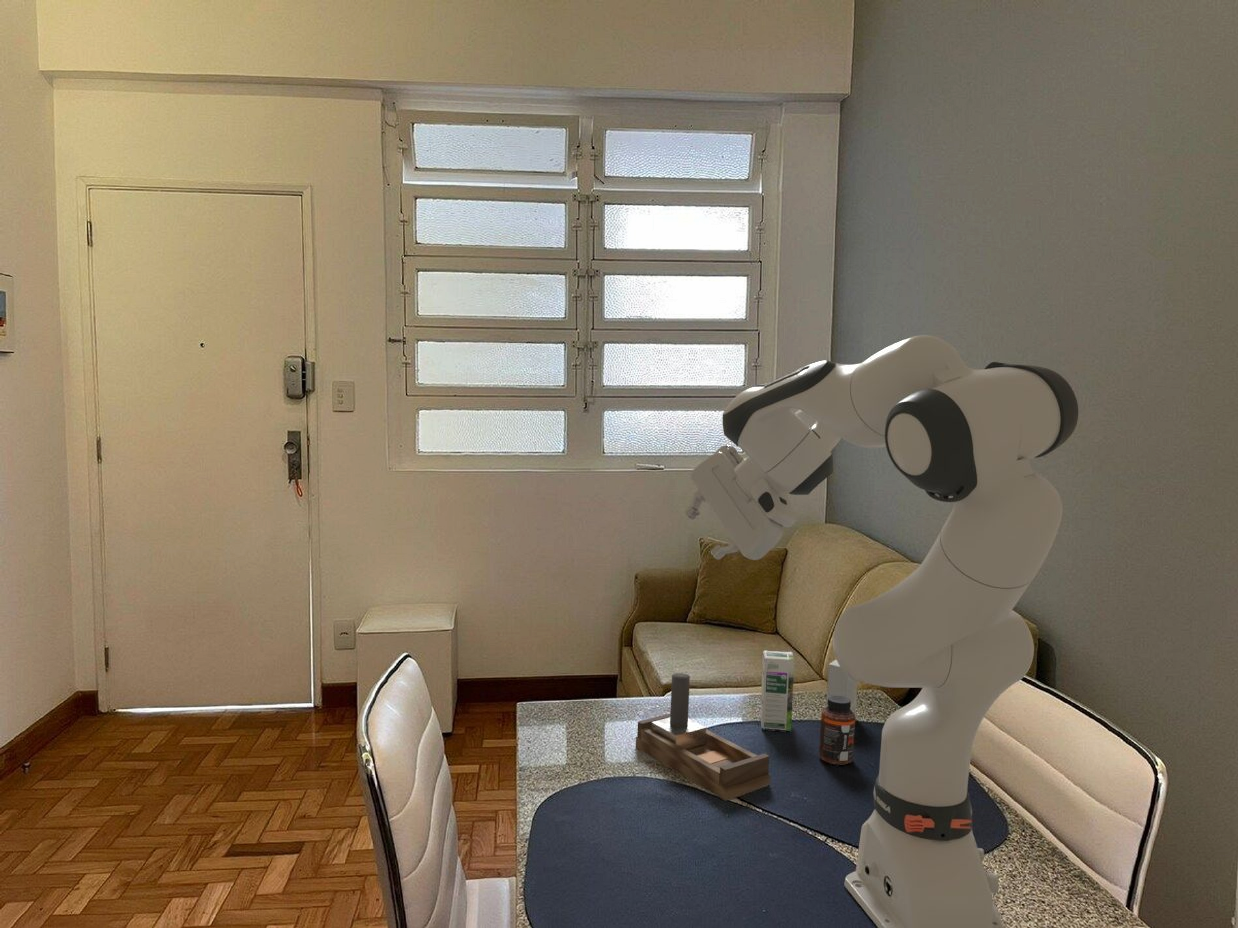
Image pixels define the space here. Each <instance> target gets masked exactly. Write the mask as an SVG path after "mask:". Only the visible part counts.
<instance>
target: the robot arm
mask: <svg viewBox="0 0 1238 928" xmlns="http://www.w3.org/2000/svg"><path fill="white" fill-rule="evenodd" d="M792 409H797V411H795V412H794V411H793V410H792ZM1078 421H1079V405H1078V400H1077V396H1076V395H1075V392H1074V390H1073V388H1072V386H1071V385H1070V384H1069V382H1068V381H1067V380H1066V379H1065V378H1064V377H1063V376H1062V375H1060V374H1059V373H1058V372H1056V371H1054V370H1052V369H1050V368H1047V367H1044V366H1043V367H1042V366H1037V365H1031V364H1030V365H1029V364H1012V363H1006V362H999V361H992V362H989V363H988V364H987V365H986V366H985V367H984V368H983V369H982V368H981V369H973V368H971V367H969V366H967V365H966V364H965V363H964V361H963V359H962V357H961V355H960V353H959V352H958V351H957V350H956V349H955V347H953V345H952V344H950V343H949V342H948V341H946V340H945V339H942V338H940V337H938V336H934V335H928V334H923V335H921V334H919V335H915V336H911V337H909V338H904V339H903V340H900V341H898V342H895V343H892V344H890V345H889V346H887V347H884V348H883V349H882V350H880V351H878V352H876V353H874V354H873V355H871V356H870V357H868V358H867V359H865V360H864V361H862V362H861V363H854V364H853V363H852V364H850V363H838V362H835V361H831V360H826V359H825V360H821V361H816V362H813V363H811V364H808V365H805V366H803V367H800V368H798V369H795V370H793V371H791V372H789V373H786V374H784V375H782V376H779V377H778V378H775V379H773V380H771V381H769V382H767V383H763V384H756V385H754V386H752V387H749V388H747V389H745V390H743V391H741V392H740V393H738V394H737V395H736V396H734V398H732V400H731V401H730V402H729V403H728V405H727V406H726V408H725V409H724V411H723V412H722V429H723V435H724V436H725V437H726V438H727V439H728V440H730V441H731V442H732V443H733V444H734V445H735V446H736V447H738V448H740V449H741V450H742V451H743V452H744V453H745V454H746V456H745V458H743V456H741V455H740V454H739V452H738V451H737V449H736V447H734V446H732V445H731V446H730V445H722V446H720V447H719V448H718V449H717V450H716V451H715V452H714V453H712V455H710V456H708V457H706V459H704V460H703V461H702V462H700V463H699V464H698V465H697V466H696V467H695V468H693V469H692V470H691V473H690V480H691V481H692V482H693V484H694V486H695V487H696V488H697V490H696V491H695V493H693V496H692V499H691V502H690V505H689V506H687V507H686V509H685V510H684V513H685V515H686V517H687V518H688V519H690V520H694V519H696V518H697V517H698V516H699V515H700V512H699V508H700V506H701V505H702V502H704V503H705V502H706V503H707V504H708V506H709V508H710V509H711V510H712V512H713V513H714V515H715V516H716V518H717V520H718V521H719V522H720V524H721V525H722V527H723V528H724V529H725V531H726V533H727V534H728V535H729V537H730V539H729V540H728V542H727V545H725V546H720V545H719V544H716V545H715V546H714V547H713V548H711V549H710V554H711V555H712V556H713V558H714V559H715V560H721V559H722V558H724V556H726V554H727V555H728V554H733V553H738V552H740V553H741V555H742V556H743V557H745V558H746V559H749V560H752V561H758V560H761V559H762V558H764V556H766V555H767V554H768V553H769V552H770V551H771V550H772V549H773V548H774V547H775V545H777V544H778V542H779V541H780V540H781V539H782V537H783V535H784V532H785V531H784V527H785V528H790V527H792V526H793V525H794V524H795V523H796V516H795V513H794V511H793V507H792V504H791V501H790V497H789V495H791V496H792V495H793V496H806V495H807V496H808V495H809V494H811V492H812V491H814V490H815V489H816V488H817V487H818V486H819V485H820V484H821V483H822V482H824V481H825V480H826V479H827V478H828V477H829V476H831V475H832V474H833V473H834V457H833V453H832V450H833V449H834V448H835V447H836V445H837V444H839V442H840V441H841V440H844V441H845V442H847V443H850V444H851V445H854V446H856V447H859V448H860V447H861V448H866V449H879V448H886V450H887V454H888V456H889V459H890V462H892V464H893V465H894V467H895V468H896V470H898V471H899V473H900V474H902V475H903V476H904V477H905V478H906V479H907V480H908V481H910V483H911V484H913V485H914V486H916V487H917V488H919V489H920V490H923V491H925V493H926V494H927V496H928V497H930V498H932V499H933V500H936V501H939V502H944V503H953V507H952V510H951V512H950V513H949V515H948V517H947V519H946V521H945V522H944V524H943V526H942V528H941V530H940V532H939V534H938V536H937V537H936V539H935V541H934V543H933V544H932V546H931V548H930V550H929V551H928V553H927V554H926V556H925V558H924V560H923V561H922V562H921V564H920V565H919V566H917V568H916V569H915V570H914V571H913V572H911V573H910V574H909V575H908V576H907V577H905V578H904V579H902V580H901V581H900V582H899V583H897V584H896V585H894V586H892V587H891V588H890V589H888V590H887V591H885V592H883V593H881V594H879V595H878V596H876V597H874V598H871V599H869V600H866V601H864V602H862V603H861V602H860V603H858V604H856V605H852V606H849V607H847V608H846V609H845V610H844V611H843V612H842V613H841V615H840V616H839V618H838V620H837V622H836V624H835V626H834V629H833V630H834V631H833V635H832V647H833V649H832V650H833V652H834V656H835V660H836V659H837V662H838V664H839V665H840V667H841V669H842V670H843V671H844V673H845V674H846V675H847V676H848V677H849V678H850V679H852V680H854V681H857V682H860V683H864V684H867V685H871V686H872V685H873V686H878V687H883V688H912V689H913V688H921V690H920V692H919V693H918V694H917V695H916V697H915V698H914V699H912V700H911V701H910V702H909V703H908V704H906V705H904V706H902V707H901V708H899V709H897V710H895V711H893V712H892V713H891V714H890V715H889V716H888V718H887V719H886V721H885V723H884V724H883V727H882V729H881V742H880V756H879V770H878V772H879V773H878V775H877V776H876V778H875V783H874V787H873V807H874V810H873V811H872V813H871V815H870V816H869V817H868V819H866V821H865V822H864V823H863V824H862V825H861V828H860V829H861V830H860V838H859V843H858V844H859V845H858V853H857V860H856V868H855V871H852V872H850V873H849V874H847V875H846V876H845V878H844V879H845V880H844V883H843V884H844V888H846V890H847V891H848V892H849V893H850V894H851V895H852V897H853V898H854V900H856V902H857V903H858V904H859V906H861V908H862V909H863V910H864V912H865V913H866V914H867V916H868V917H869V918H870V919H871V920H872V921H873V923H874V924H875V925H876V927H877V928H1005V926H1004V925H1003V921H1002V919H1001V917H1000V915H999V912H998V910H997V908H996V906H995V903H994V901H993V894H997V893H999V887H1000V885H999V883H1000V882H999V876H998V875H997V874H996V873H993V872H986V871H985V868H984V863H983V860H985V851H984V849H983V848H981V847H978V845H977V842H976V838H975V836H974V832H973V820H972V819H973V818H972V816H973V808H972V804H971V796H970V793H969V792H968V785H969V775H970V767H971V758H972V754H973V753H972V752H973V747H974V746H973V745H974V742H975V738H976V736H977V732H978V729H979V727H980V725H981V723H982V722H983V719H984V718H985V715H986V714H987V713H988V711H989V710H990V708H991V707H992V705H994V703H995V702H996V701H997V699H998V698H999V697H1000V696H1001V695H1002V694H1003V693H1004V692H1005V691H1007V690H1008V689H1009V688H1010V687H1011V686H1013V685H1015V684H1017V683H1019V682H1020V681H1021V680H1022V679H1024V677H1025V676H1026V675H1027V673H1028V671H1029V669H1030V668H1031V666H1032V663H1033V659H1034V655H1035V654H1034V653H1035V645H1034V638H1033V635H1032V632H1031V631H1030V628H1029V626H1028V625H1027V623H1026V621H1025V620H1024V618H1022V616H1020V614H1019V613H1018V612H1016V611H1014V608H1015V606H1016V605H1017V604H1018V602H1019V600H1020V599H1021V597H1022V596H1023V595H1024V593H1025V592H1026V590H1027V589H1028V587H1029V586H1030V584H1031V583H1032V581H1033V580H1034V578H1035V577H1036V575H1037V574H1038V573H1039V571H1040V569H1041V567H1042V566H1043V564H1044V562H1045V561H1046V559H1047V557H1048V555H1049V553H1050V551H1051V549H1052V547H1053V544H1054V542H1055V540H1056V537H1057V534H1058V531H1059V528H1060V525H1061V522H1062V519H1063V518H1062V517H1063V511H1064V510H1063V502H1062V499H1061V497H1060V494H1059V492H1058V491H1057V489H1056V488H1055V486H1053V484H1052V483H1051V482H1050V481H1049V480H1048V479H1046V478H1045V477H1044V476H1042V475H1041V474H1039V473H1037V472H1035V471H1034V470H1033V469H1032V467H1031V463H1030V460H1032V459H1034V458H1035V459H1037V458H1041V457H1045V456H1046V455H1048V454H1049V453H1051V452H1053V451H1055V450H1056V449H1058V448H1060V447H1061V446H1062V445H1063V444H1065V443H1066V442H1067V441H1068V439H1070V437H1072V435H1073V433H1074V432H1075V430H1076V428H1077V424H1078Z"/></svg>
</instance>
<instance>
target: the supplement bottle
mask: <svg viewBox="0 0 1238 928" xmlns="http://www.w3.org/2000/svg"><path fill="white" fill-rule="evenodd" d="M827 704H828V707H823V709H821V716H820V726H819V727H820V729H819V730H820V731H819V747H818V757H819V756H820V757H819V759H820V760H821V759H822V761H823V760H824V761H826V762H829V763H835V764H841V765H843V764H847V763H850V764H851V763H852V761H853V759H854V758H853V757H854V743H855V742H854V741H855V731H856V730H855V729H856V716H855V714H854V712H853V711H851V709H850V707H851V700H850V699H849V698H847V697H844V696H837V695H834V696H829V697H828V703H827ZM824 761H823V762H824ZM826 762H825V763H826ZM829 763H828V764H829Z"/></svg>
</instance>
